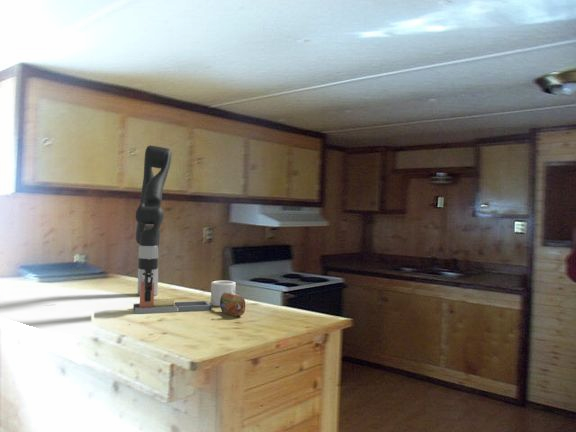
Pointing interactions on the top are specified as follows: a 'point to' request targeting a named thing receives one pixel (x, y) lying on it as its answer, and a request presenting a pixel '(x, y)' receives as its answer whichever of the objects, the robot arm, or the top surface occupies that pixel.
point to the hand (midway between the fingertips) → (147, 300)
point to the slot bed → (154, 309)
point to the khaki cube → (168, 302)
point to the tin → (232, 304)
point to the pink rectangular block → (142, 295)
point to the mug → (221, 290)
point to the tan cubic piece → (158, 302)
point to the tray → (193, 306)
